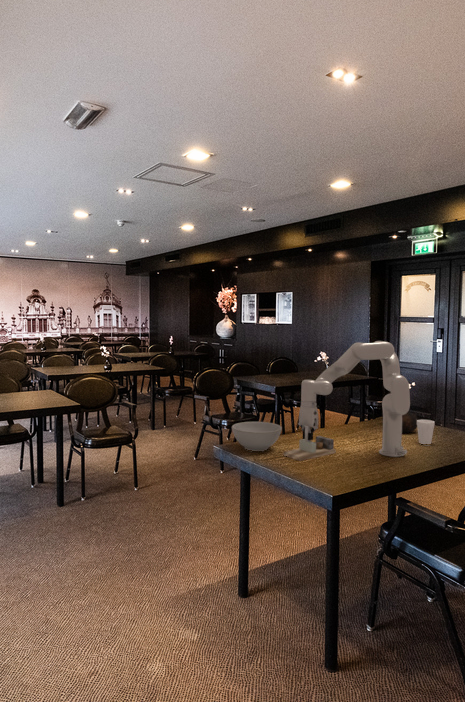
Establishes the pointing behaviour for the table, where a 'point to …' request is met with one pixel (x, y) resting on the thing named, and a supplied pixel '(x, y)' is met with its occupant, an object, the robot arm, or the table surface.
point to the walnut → (319, 445)
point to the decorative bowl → (256, 434)
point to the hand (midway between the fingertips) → (307, 439)
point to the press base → (303, 455)
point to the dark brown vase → (409, 422)
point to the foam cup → (425, 431)
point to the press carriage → (307, 443)
